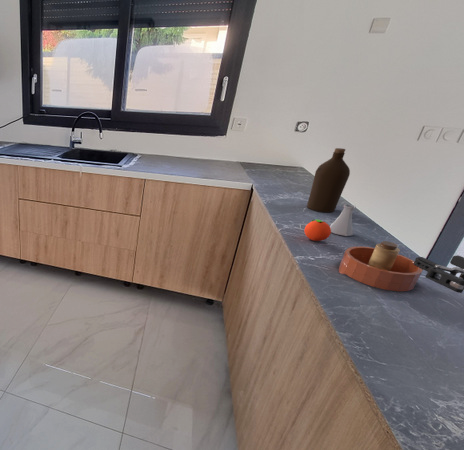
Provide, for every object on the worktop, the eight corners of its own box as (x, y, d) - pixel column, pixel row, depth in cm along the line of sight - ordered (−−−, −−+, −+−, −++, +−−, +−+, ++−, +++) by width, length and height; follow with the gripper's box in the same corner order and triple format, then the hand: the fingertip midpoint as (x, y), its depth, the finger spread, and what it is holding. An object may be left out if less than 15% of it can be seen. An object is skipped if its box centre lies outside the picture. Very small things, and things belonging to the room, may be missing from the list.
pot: (390, 268, 88) (399, 250, 86) (427, 299, 75) (438, 278, 73) (329, 261, 92) (335, 243, 90) (354, 289, 79) (362, 269, 77)
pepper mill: (379, 273, 85) (395, 241, 81) (389, 282, 81) (406, 248, 77) (360, 271, 86) (374, 239, 82) (369, 279, 82) (384, 246, 78)
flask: (357, 233, 109) (367, 206, 105) (347, 238, 106) (358, 211, 102) (332, 226, 115) (341, 200, 111) (323, 230, 111) (332, 204, 107)
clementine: (296, 233, 110) (301, 215, 107) (317, 234, 108) (324, 216, 106) (308, 244, 102) (315, 224, 99) (332, 245, 101) (339, 225, 98)
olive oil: (325, 214, 125) (346, 152, 115) (298, 206, 134) (316, 147, 124) (342, 211, 128) (365, 149, 118) (315, 203, 137) (334, 145, 127)
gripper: (589, 286, 54) (473, 243, 69) (511, 289, 54) (411, 246, 68) (562, 320, 57) (456, 272, 72) (487, 323, 57) (397, 274, 71)
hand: (434, 259), depth 70 cm, fingers open, 8 cm apart
